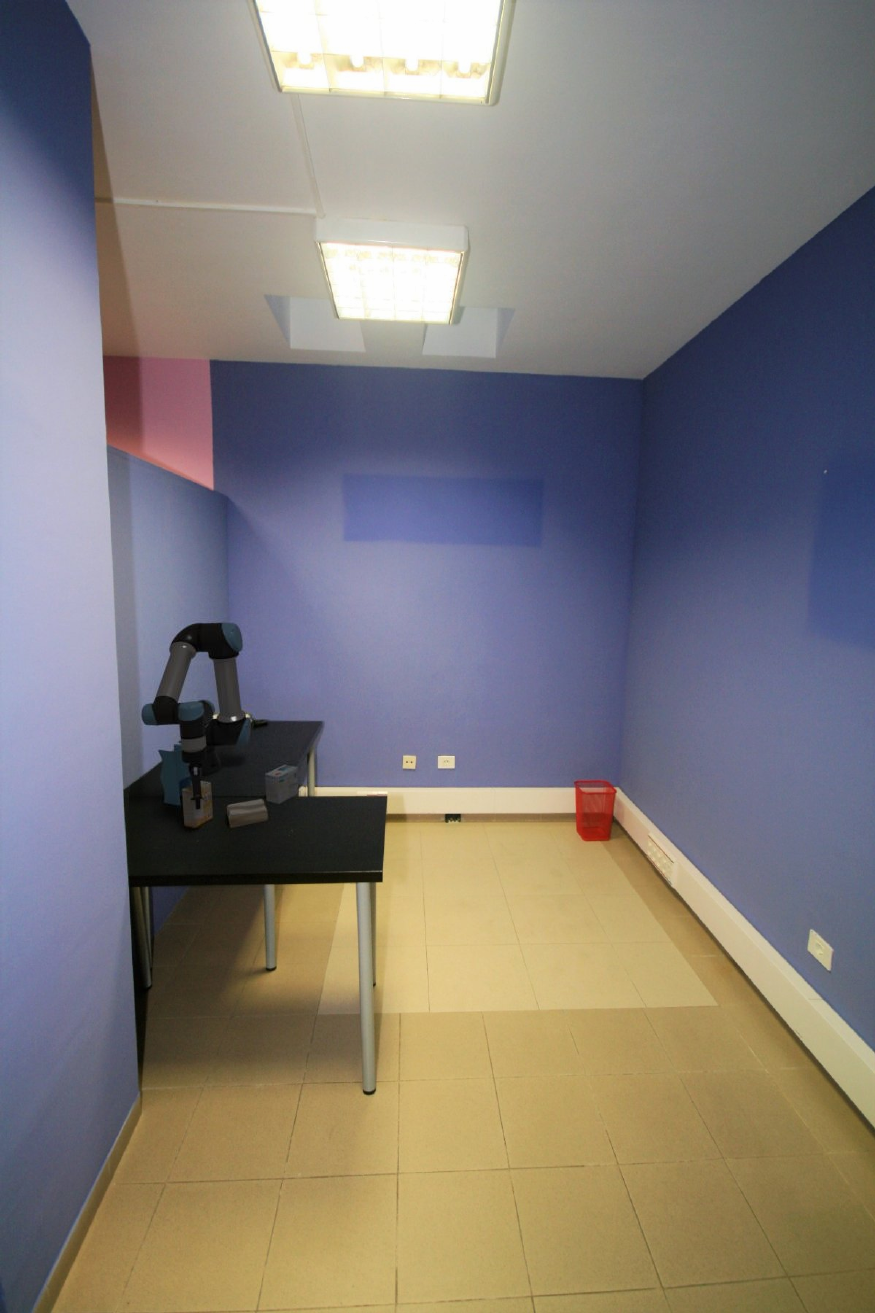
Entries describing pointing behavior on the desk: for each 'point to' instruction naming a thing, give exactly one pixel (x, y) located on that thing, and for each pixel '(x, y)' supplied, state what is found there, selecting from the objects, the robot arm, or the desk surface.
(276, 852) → the desk surface
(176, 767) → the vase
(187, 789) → the supplement box
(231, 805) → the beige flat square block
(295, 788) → the light bulb box
